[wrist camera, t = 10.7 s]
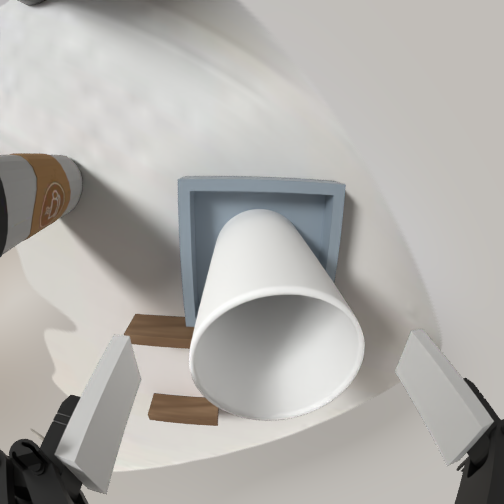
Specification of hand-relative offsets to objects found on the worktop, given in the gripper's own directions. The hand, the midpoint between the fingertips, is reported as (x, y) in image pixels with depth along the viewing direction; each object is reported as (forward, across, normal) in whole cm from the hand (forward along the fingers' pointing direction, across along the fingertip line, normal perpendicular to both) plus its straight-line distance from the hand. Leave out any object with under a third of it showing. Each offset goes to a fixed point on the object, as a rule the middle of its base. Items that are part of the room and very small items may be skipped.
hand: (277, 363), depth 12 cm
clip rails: (+16, -9, -16) cm, 24 cm away
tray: (+17, 0, -1) cm, 17 cm away
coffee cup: (+17, -21, +6) cm, 28 cm away
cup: (+16, 0, -1) cm, 16 cm away
